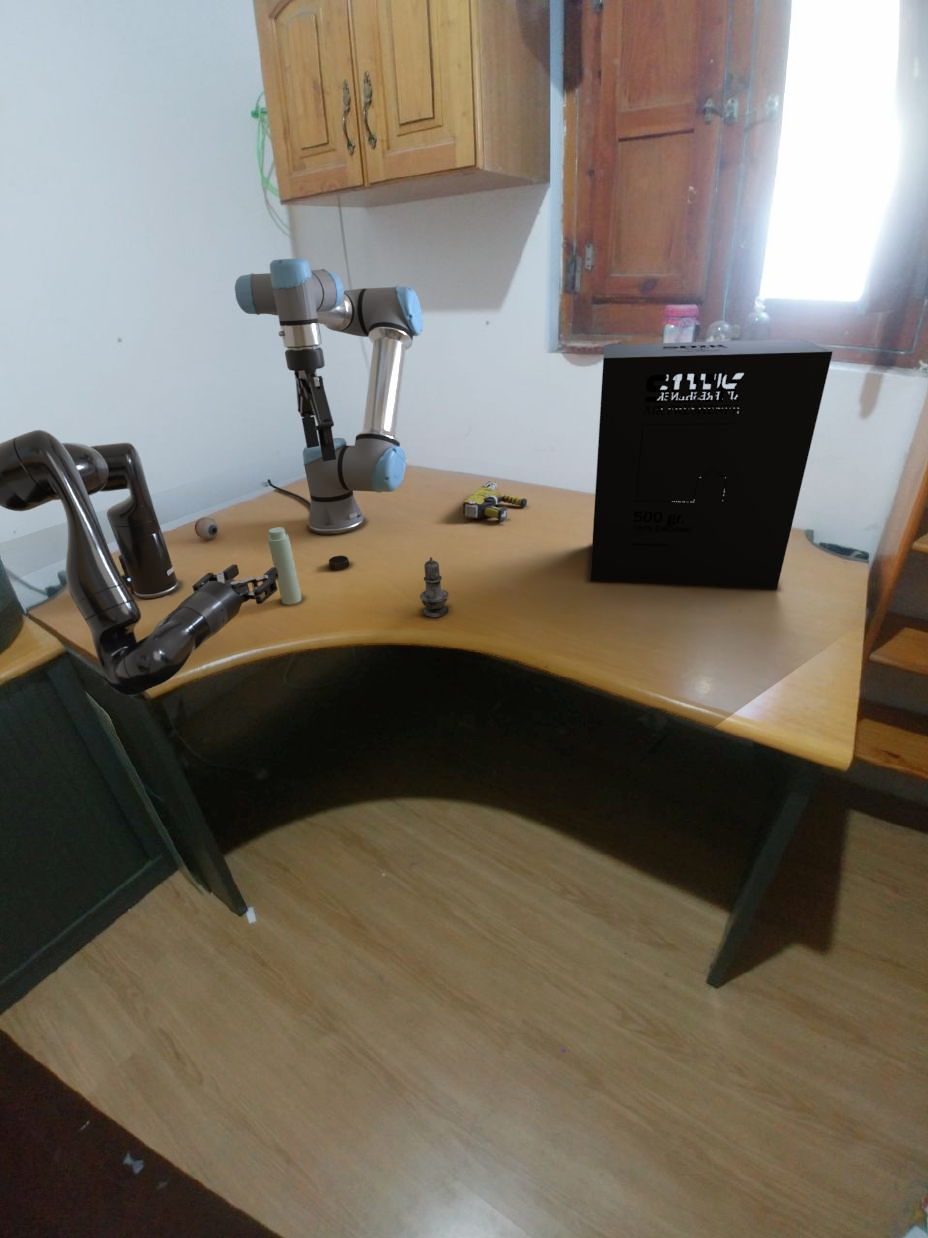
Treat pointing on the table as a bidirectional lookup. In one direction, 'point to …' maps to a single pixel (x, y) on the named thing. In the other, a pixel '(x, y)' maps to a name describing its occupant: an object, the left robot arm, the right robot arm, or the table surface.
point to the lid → (338, 563)
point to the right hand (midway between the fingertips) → (321, 453)
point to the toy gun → (489, 503)
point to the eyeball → (206, 528)
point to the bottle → (284, 566)
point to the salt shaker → (433, 591)
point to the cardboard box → (703, 460)
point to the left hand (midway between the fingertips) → (255, 570)
